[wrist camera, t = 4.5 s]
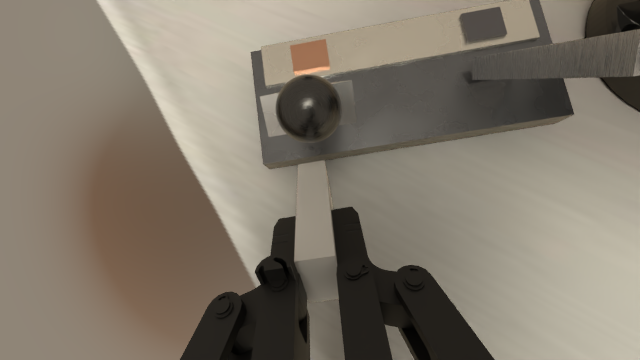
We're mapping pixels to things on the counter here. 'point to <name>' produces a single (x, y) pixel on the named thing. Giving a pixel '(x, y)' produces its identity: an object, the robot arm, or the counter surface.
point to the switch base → (415, 81)
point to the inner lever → (566, 59)
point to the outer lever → (309, 108)
